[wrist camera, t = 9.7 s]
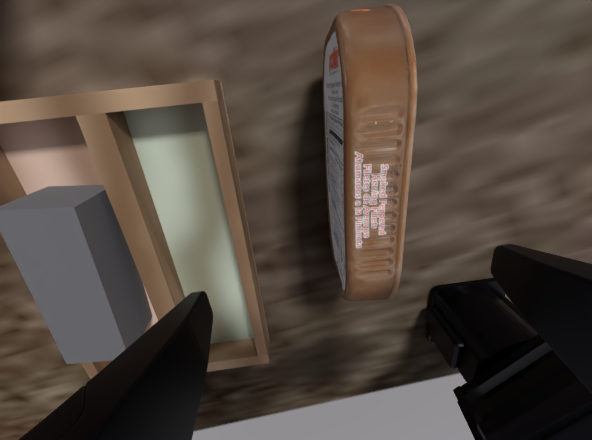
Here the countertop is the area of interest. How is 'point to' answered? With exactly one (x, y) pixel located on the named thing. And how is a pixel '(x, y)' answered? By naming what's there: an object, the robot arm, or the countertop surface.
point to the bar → (78, 270)
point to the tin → (369, 146)
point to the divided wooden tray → (153, 195)
